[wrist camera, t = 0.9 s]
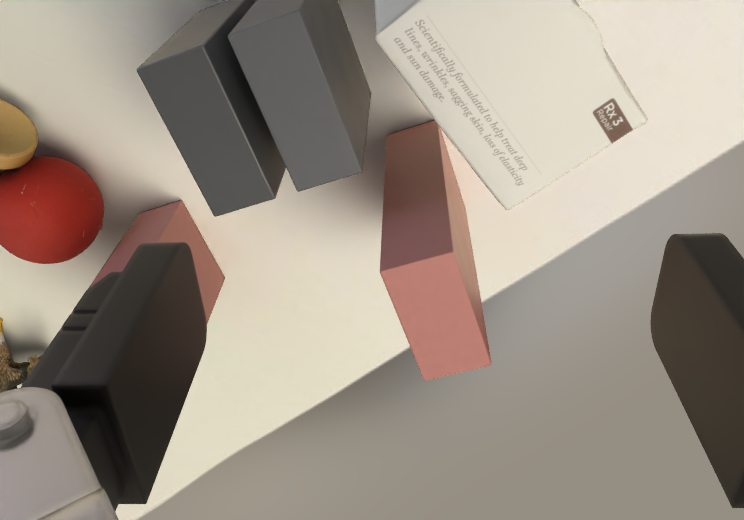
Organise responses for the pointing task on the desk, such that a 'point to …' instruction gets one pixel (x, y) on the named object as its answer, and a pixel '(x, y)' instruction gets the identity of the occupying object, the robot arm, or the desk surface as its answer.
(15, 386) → the eagle figurine
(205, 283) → the rose book
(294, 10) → the grey book
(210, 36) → the grey book
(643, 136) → the desk surface
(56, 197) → the kendama
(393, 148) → the rose book
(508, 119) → the cosmetic box
